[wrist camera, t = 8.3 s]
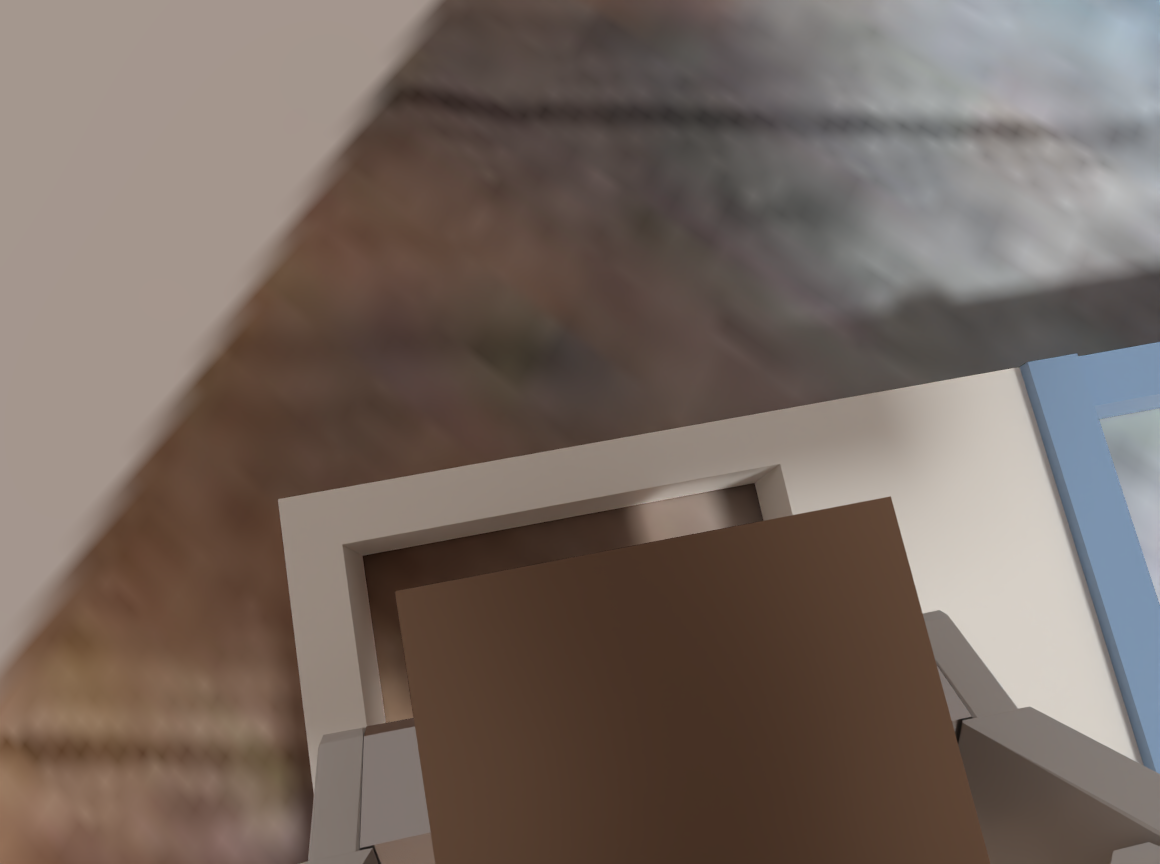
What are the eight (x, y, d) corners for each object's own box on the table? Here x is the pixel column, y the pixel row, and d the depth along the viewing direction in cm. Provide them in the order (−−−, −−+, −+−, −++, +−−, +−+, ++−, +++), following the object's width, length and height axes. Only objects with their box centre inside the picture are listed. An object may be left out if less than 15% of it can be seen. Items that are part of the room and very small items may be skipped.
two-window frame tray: (1427, 312, 21) (1541, 269, 18) (1622, 778, 18) (1782, 798, 16) (305, 515, 18) (271, 495, 16) (376, 1075, 16) (350, 1148, 14)
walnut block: (719, 569, 16) (891, 496, 8) (780, 840, 15) (1039, 1042, 7) (464, 619, 16) (394, 590, 8) (511, 900, 15) (482, 1182, 7)
